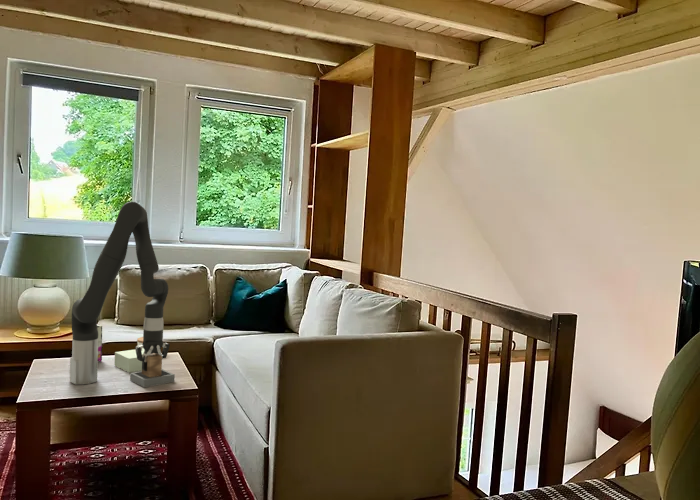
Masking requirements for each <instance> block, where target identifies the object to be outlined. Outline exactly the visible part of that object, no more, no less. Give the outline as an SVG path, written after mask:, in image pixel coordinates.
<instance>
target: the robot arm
mask: <svg viewBox="0 0 700 500" xmlns="http://www.w3.org/2000/svg"><path fill="white" fill-rule="evenodd" d="M147 212H148V211H147V210H146V209H145V208H144V207H143V206H142V205H141V204H140V203H138V202H136V201H128V202H125V203H124V204H123V205H122V207H121V208H120V210H119V212H118V215H117V218H116V221H115V224H114V226H113V228H112V231H111V233H110V235H109V236H108V238H107V241H106V243H105V244H104V246H103V248H102V250H101V252H100V253H99V256H98V258H97V260H96V262H95V265H94V268H93V272H92V276H91V280H90V284H89V286H88V288H87V291H86V292H85V293H84V295H83V297H81V298H78V299H76V300H75V302H74V303H73V305H72V308H71V332H72V333H71V334H72V348H71V350H72V351H71V354H72V355H71V357H69V358H70V359H69V382H70V383H71V384H73V385H75V386H77V385H90V384H94V383H96V382H97V381H98V329H97V324H98V322H97V321H98V319H99V316H101V312H102V309H103V307H104V304H105V301H106V298H107V295H108V293H109V292H110V289H111V287H112V286H113V284H114V282H115V280H116V278H117V276H118V274H119V272H120V271H121V268H122V266H123V264H124V263H125V260H126V257H127V253H128V247H129V241H130V238H131V235H133V238H134V242H135V243H134V244H135V254H136V259H137V262H138V267H139V270H140V289H141V292H142V293H143V295H144V296H145V297H148V298H152V299H151V301H148V302H147V303H146V304H145V307H144V320H143V327H142V328H143V333H142V334H143V336H142V337H143V344H142V345H140V346H138V345H136V346H134V350H136V355H137V359H138V360H139V361H142V369H143V371H147V360H148V357H149V356H150V354H152V353H155V354H157V355H161V356H162V360H163V359H167V357H168V354H169V349H170V347H171V346H170V343H167V342H164V341H163V340H164V306H165V305H166V304H165V303H166V302H167V298H168V293H169V285H168V282H167V281H166V279H164V278H154V275H155V274H156V273H158V272H159V269H160V267H159V263H158V259H157V257H156V253H155V251H154V246H153V243H152V238H151V234H150V230H149V229H150V228H149V220H148V219H149V218H148V213H147ZM142 348H144V353H143V357H142V352H141V351H142ZM161 349H162V351H161Z"/></svg>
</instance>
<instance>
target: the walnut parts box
mask: <svg viewBox="0 0 700 500" xmlns="http://www.w3.org/2000/svg"><path fill="white" fill-rule="evenodd" d="M142 357H143V354H142ZM162 363H163V359H162V356H161V355H157V354H155V353H152V354H150V356H149V357H148V360H147V371H143V369H142V370H141V371H142V374H144V375H146V376H148V377H151V378H153V377H159V376H161V371H162V369H163V366H162V365H163V364H162Z"/></svg>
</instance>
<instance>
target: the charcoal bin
mask: <svg viewBox="0 0 700 500" xmlns="http://www.w3.org/2000/svg"><path fill="white" fill-rule="evenodd" d="M129 373H130V374H129V381H131V382H133V383H135V384H136V385H139V387H142V388H149V387H153V386H158V385H165V384H168V383H174V382H175V373H172V372H170V371H169V370H166V369H163V368H162V371H161V376H156V377H148V376H146V375H144V374H142V370H141V371H135V372H129Z"/></svg>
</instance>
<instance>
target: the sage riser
mask: <svg viewBox="0 0 700 500" xmlns="http://www.w3.org/2000/svg"><path fill="white" fill-rule="evenodd" d="M141 352H142V354H143V353H144V348H142V351H141ZM114 365H115V366H114V367H116V366H117V367H116V368H119V369H120V368H121V369H120V370H122V369H123V371H124V370H125V372H126V371H127V372H126V373H128V372H129V373H134V372H140V371H142V361H139V360H138V359H137V355H136V350H135V349H128V350H122V351H115V352H114Z"/></svg>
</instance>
